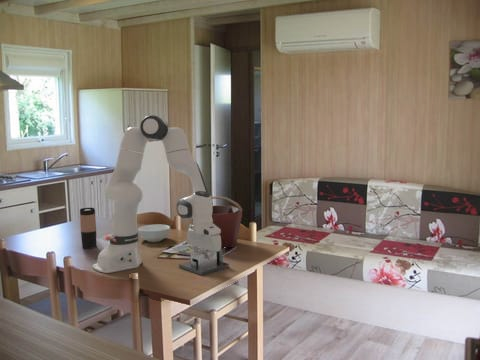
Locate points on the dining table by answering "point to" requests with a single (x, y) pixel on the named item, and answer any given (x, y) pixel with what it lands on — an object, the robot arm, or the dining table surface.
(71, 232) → the dining table surface
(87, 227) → the travel mug
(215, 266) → the coupler plate
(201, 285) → the dining table surface
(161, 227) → the cereal bowl
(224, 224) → the bucket
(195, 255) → the block
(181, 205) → the robot arm
